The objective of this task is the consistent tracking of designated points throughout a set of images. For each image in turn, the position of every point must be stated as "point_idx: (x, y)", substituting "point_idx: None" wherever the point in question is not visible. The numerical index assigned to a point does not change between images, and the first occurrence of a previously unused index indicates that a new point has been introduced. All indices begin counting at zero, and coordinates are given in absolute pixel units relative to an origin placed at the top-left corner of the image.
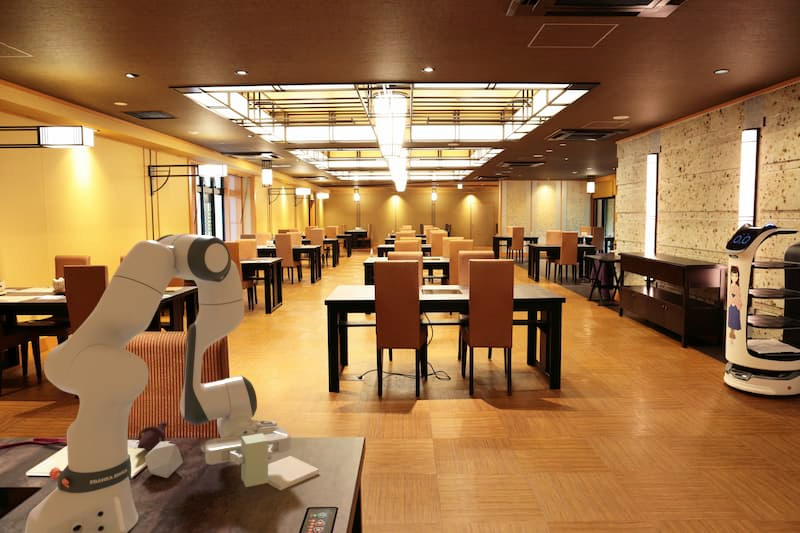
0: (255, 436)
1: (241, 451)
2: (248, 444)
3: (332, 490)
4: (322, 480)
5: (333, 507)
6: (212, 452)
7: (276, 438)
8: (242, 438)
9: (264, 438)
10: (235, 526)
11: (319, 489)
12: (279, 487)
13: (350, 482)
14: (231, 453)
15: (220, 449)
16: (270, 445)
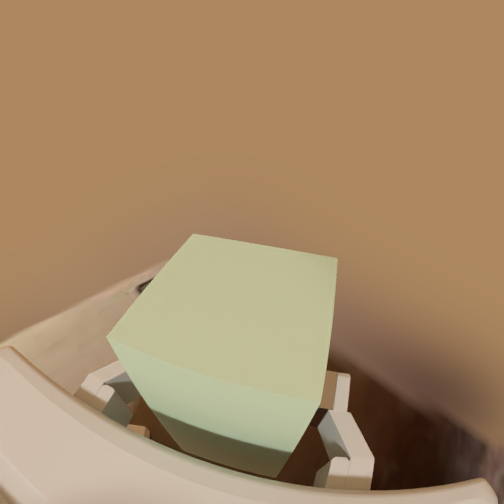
0: (202, 323)
1: (295, 445)
2: (320, 259)
3: (83, 331)
4: (51, 375)
5: (142, 291)
6: (470, 480)
7: (32, 381)
8: (327, 356)
9: (183, 261)
10: (347, 359)
11: (90, 354)
12: (147, 432)
13: (42, 324)
14: (368, 447)
15: (435, 487)
16: (99, 382)
